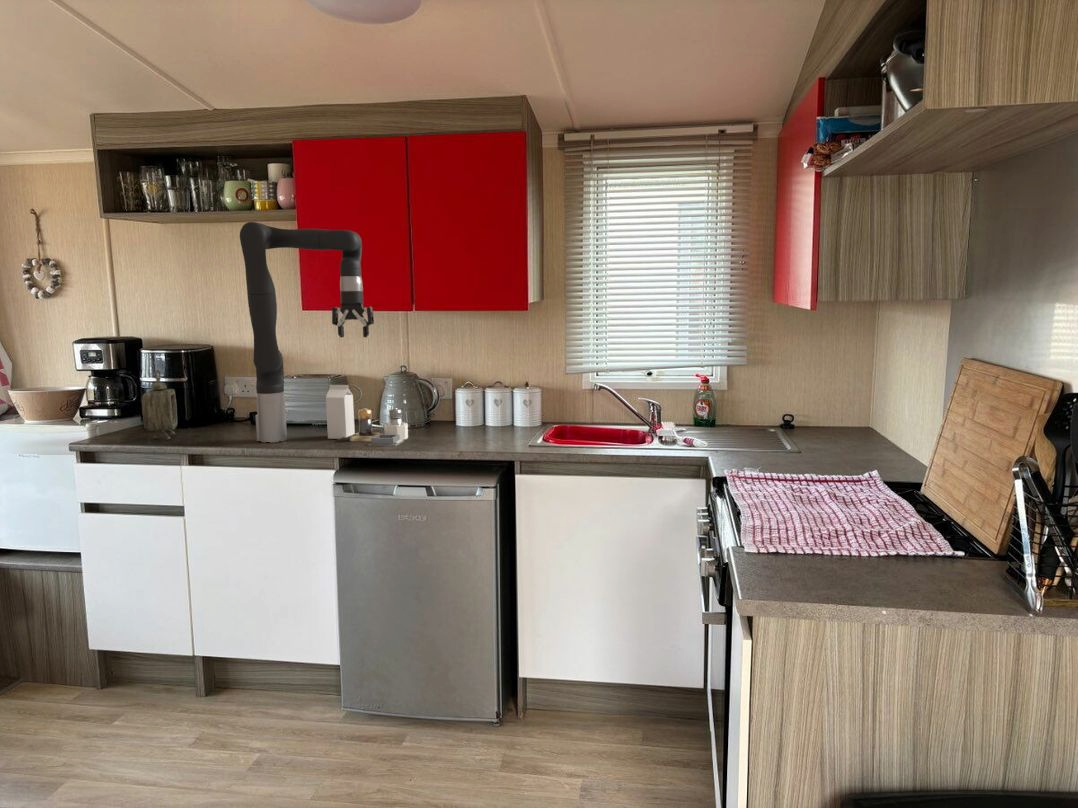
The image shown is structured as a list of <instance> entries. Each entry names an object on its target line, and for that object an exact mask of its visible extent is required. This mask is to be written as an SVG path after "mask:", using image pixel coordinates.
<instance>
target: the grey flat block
mask: <svg viewBox="0 0 1078 808" xmlns="http://www.w3.org/2000/svg"><path fill="white" fill-rule="evenodd" d="M402 443H405V439H404V440H400V435H399V434H385V433H382V434H378V435H376V436H374V437H372V438H371V441H370V442H369V443H367V444H366V446H370V447H397V446H398V445H401V444H402Z"/></svg>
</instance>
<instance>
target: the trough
mask: <svg viewBox="0 0 1078 808" xmlns="http://www.w3.org/2000/svg"><path fill="white" fill-rule="evenodd" d="M378 434H383V433H382V432H372V436H359V432H356V433H355V434H353V435H351V436H349V441H350V442H371V438H372V437H374V436H376V435H378Z"/></svg>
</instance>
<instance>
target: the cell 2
mask: <svg viewBox="0 0 1078 808" xmlns="http://www.w3.org/2000/svg"><path fill="white" fill-rule="evenodd" d="M388 418H389V419H388V420H389V422H388V423H390V426H397V425H402V422H403V410H402V409H401V408H398V407H393V408H391V409H389V410H388Z"/></svg>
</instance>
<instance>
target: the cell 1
mask: <svg viewBox="0 0 1078 808" xmlns="http://www.w3.org/2000/svg"><path fill="white" fill-rule="evenodd" d="M372 415H373V413H372V409H368V407H365V408H363V407H362V409H358V426H359V427H358V433H359V436H372V433H373V417H372Z"/></svg>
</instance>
